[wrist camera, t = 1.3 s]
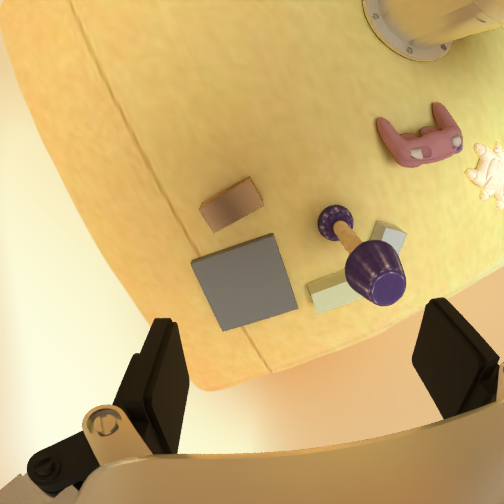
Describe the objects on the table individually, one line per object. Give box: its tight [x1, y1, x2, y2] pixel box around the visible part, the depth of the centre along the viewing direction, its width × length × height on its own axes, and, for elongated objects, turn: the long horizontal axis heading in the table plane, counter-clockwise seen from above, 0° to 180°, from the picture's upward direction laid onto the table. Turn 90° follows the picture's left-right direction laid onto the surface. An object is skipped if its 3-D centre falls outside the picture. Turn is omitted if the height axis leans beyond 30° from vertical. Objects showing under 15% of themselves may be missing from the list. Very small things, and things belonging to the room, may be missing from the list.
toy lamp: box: [318, 205, 406, 306], centre depth 28 cm, size 5×5×17 cm
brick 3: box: [370, 221, 407, 256], centre depth 36 cm, size 6×3×3 cm, turn 166°
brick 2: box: [307, 270, 363, 314], centre depth 38 cm, size 6×3×3 cm, turn 111°
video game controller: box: [377, 102, 463, 168], centre depth 30 cm, size 10×5×7 cm, turn 112°
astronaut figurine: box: [465, 142, 504, 209], centre depth 33 cm, size 9×12×3 cm
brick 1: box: [199, 176, 264, 233], centre depth 34 cm, size 6×3×3 cm, turn 119°
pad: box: [191, 233, 298, 331], centre depth 38 cm, size 10×10×1 cm
